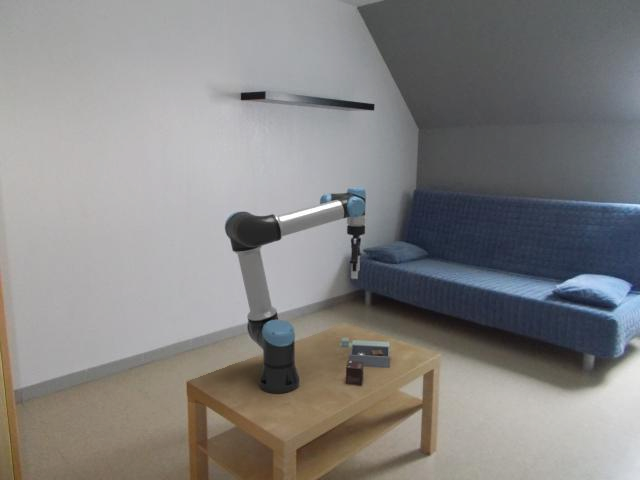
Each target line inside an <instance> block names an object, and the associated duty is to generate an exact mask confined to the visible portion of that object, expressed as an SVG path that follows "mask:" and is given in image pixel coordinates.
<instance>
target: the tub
mask: <svg viewBox="0 0 640 480" xmlns="http://www.w3.org/2000/svg"><path fill="white" fill-rule="evenodd" d="M371 350H381V351H382V353H383V356H371ZM358 352H365V355H357V353H358ZM390 353H391V350H390V351H389V347H388V346H369V345H351V347H350V351H349V361H355V362H363V367H368V368H370V367H371V368H372V367H373V368H388V369H389V368H390Z"/></svg>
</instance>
